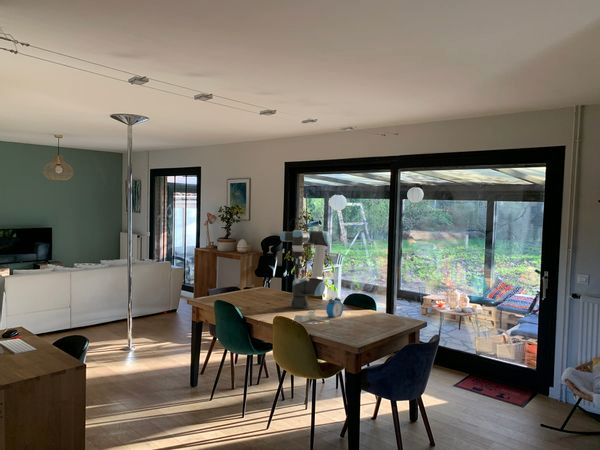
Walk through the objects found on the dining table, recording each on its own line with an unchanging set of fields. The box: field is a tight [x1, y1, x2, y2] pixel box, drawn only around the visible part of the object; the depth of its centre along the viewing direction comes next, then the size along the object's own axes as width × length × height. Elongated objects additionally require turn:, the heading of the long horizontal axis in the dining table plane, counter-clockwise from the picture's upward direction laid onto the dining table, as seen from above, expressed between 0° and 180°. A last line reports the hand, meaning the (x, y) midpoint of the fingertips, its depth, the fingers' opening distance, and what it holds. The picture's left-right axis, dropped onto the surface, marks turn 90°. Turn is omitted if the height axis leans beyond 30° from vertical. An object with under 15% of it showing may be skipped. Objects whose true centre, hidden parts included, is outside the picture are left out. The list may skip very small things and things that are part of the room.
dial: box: [301, 310, 326, 322], centre depth 329 cm, size 16×13×6 cm
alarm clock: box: [325, 297, 344, 318], centre depth 346 cm, size 13×6×15 cm, turn 136°
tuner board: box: [293, 315, 331, 325], centre depth 333 cm, size 24×26×2 cm
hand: (297, 282), depth 345 cm, fingers closed
